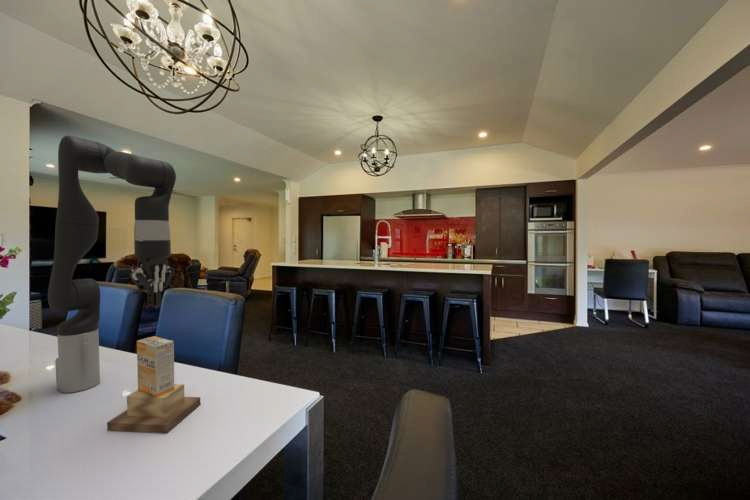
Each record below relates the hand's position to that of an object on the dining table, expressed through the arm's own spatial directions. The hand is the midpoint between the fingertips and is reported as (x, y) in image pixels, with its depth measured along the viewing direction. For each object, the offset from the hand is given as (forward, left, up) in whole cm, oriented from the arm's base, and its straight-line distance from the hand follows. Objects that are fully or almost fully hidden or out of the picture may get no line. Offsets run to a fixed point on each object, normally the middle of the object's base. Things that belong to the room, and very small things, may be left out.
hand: (154, 306), depth 81 cm
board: (0, 0, -29) cm, 29 cm away
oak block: (0, 0, -27) cm, 27 cm away
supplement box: (0, 0, -22) cm, 22 cm away
